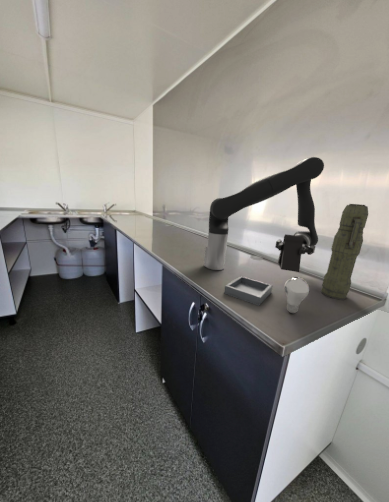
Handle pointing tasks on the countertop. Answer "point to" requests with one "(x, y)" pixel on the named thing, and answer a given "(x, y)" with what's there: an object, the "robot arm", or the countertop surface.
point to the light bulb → (295, 293)
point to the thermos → (345, 251)
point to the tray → (248, 290)
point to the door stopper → (290, 253)
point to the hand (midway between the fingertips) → (289, 249)
